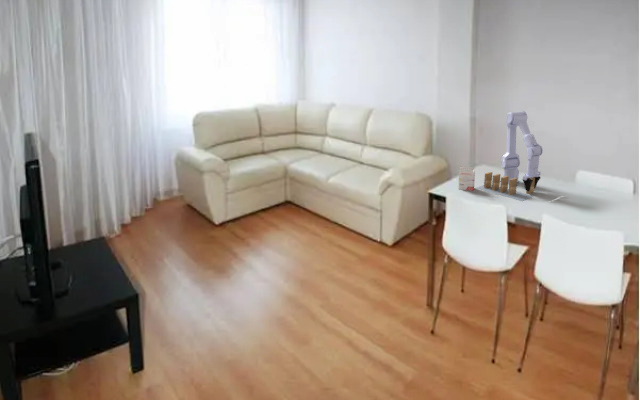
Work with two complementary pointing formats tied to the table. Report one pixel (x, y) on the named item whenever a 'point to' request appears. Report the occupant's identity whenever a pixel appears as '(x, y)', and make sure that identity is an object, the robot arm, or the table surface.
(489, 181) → the domino
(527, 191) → the loose domino
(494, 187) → the domino
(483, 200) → the table surface
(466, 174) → the ink cartridge box
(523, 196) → the mat
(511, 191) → the domino
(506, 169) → the robot arm
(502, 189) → the domino
